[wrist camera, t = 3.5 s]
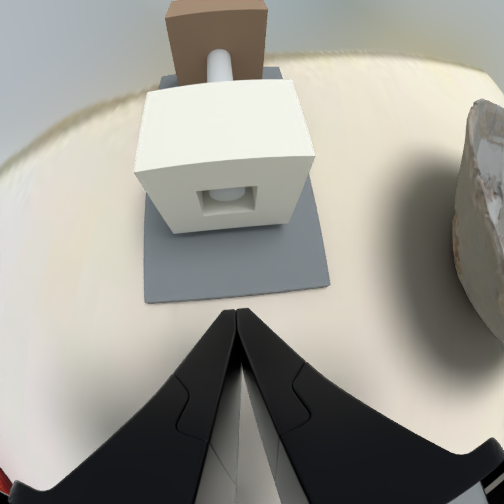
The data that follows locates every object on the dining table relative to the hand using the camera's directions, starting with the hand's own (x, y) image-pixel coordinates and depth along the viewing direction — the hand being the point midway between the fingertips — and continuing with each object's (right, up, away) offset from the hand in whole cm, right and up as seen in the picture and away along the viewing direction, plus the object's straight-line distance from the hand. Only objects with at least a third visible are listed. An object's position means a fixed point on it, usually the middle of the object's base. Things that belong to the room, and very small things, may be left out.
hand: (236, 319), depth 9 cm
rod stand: (-2, +10, +12) cm, 16 cm away
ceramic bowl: (+23, +1, +11) cm, 25 cm away
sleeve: (-1, +6, +9) cm, 11 cm away
